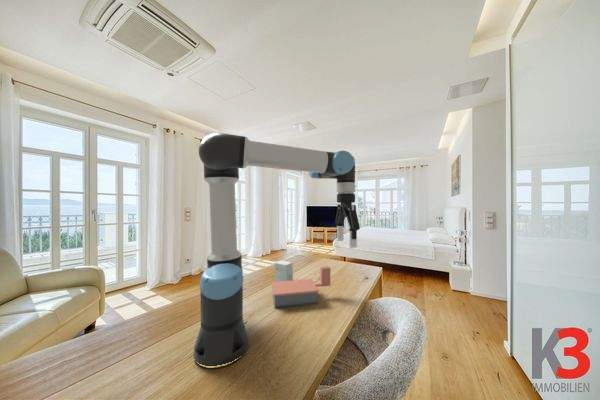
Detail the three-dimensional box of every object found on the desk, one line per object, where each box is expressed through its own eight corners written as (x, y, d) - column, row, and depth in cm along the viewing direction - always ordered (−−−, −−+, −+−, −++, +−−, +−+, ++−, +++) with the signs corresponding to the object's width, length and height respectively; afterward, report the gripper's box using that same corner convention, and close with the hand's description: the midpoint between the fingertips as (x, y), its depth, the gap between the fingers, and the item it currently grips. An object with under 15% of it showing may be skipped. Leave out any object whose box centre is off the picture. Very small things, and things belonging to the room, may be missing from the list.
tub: (274, 308, 85) (274, 295, 85) (272, 295, 96) (272, 284, 96) (317, 303, 88) (317, 291, 88) (310, 291, 100) (310, 281, 100)
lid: (273, 296, 84) (273, 276, 84) (271, 283, 97) (271, 266, 97) (334, 290, 89) (334, 272, 89) (325, 279, 102) (324, 263, 102)
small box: (293, 282, 112) (292, 262, 112) (286, 285, 107) (286, 265, 107) (281, 279, 116) (281, 260, 116) (274, 282, 111) (274, 262, 111)
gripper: (369, 192, 76) (369, 250, 76) (343, 194, 101) (343, 238, 101) (349, 192, 75) (349, 251, 75) (328, 194, 99) (328, 238, 99)
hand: (346, 243), depth 88 cm, fingers open, 13 cm apart
